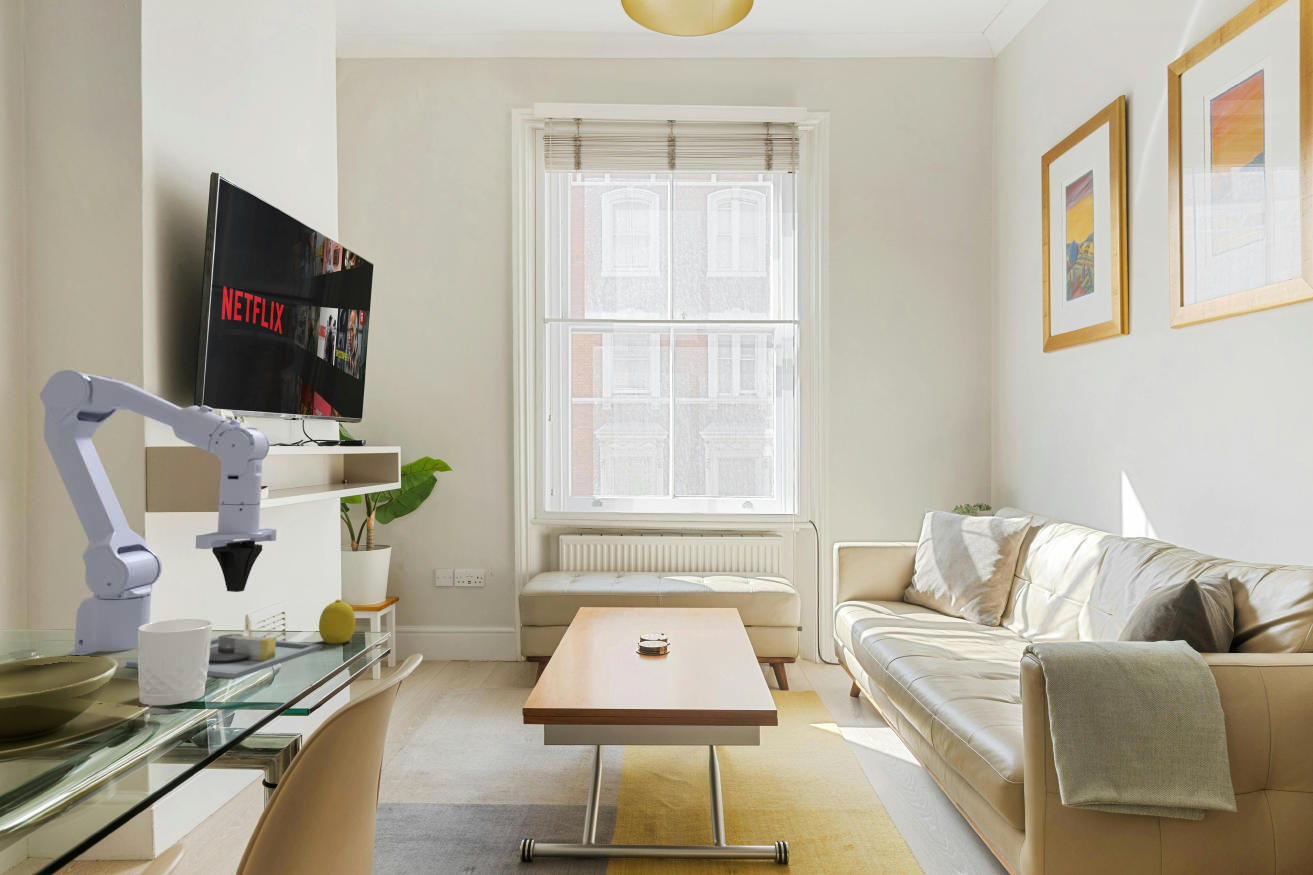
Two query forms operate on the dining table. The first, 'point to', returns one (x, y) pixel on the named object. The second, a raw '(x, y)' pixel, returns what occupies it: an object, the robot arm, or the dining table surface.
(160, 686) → the white cup
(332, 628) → the lemon
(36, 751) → the dining table surface
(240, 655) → the dial
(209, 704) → the dining table surface
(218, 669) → the dial plate
